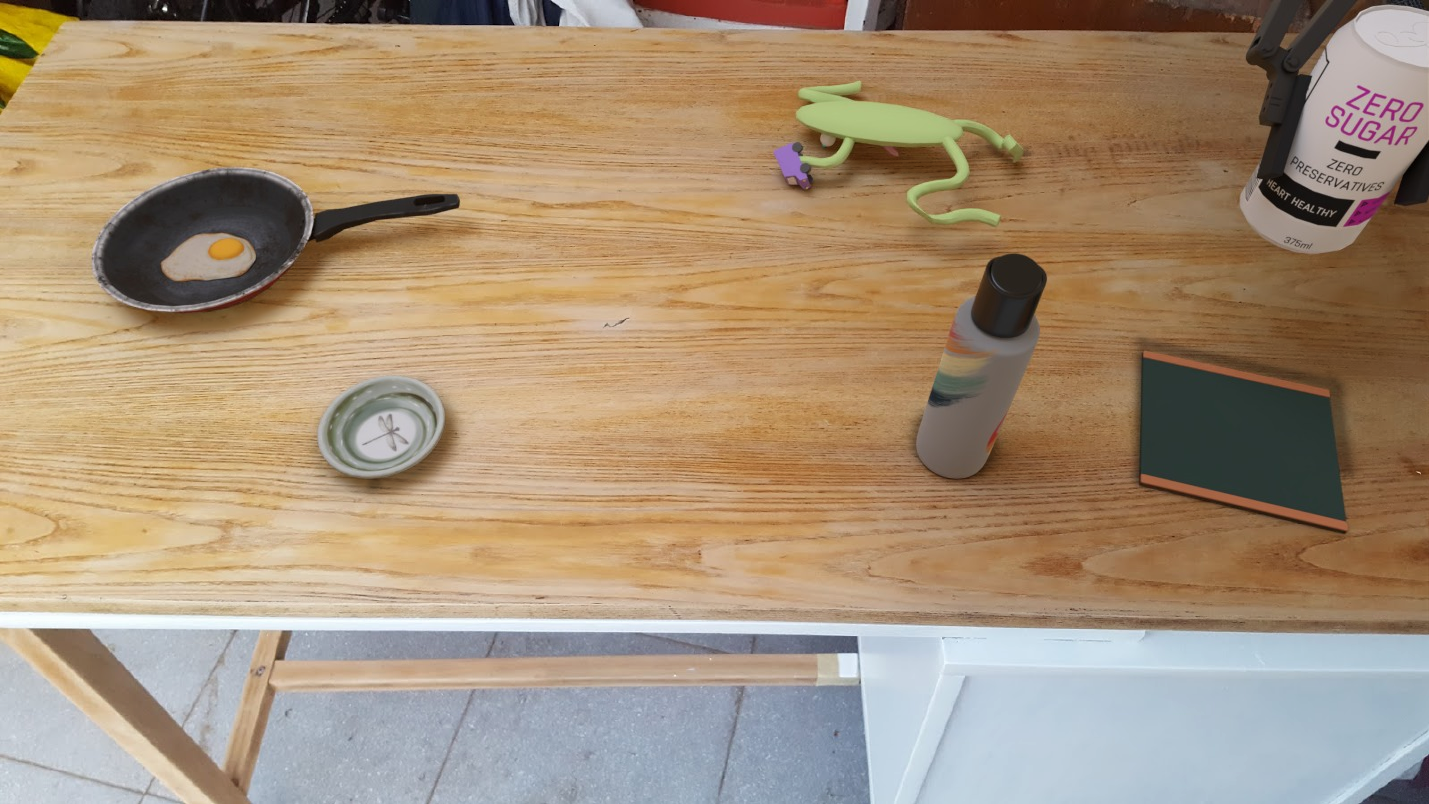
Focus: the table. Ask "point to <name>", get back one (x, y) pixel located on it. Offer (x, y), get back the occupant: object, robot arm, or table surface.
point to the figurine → (886, 142)
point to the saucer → (381, 427)
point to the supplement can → (1349, 134)
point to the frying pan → (223, 237)
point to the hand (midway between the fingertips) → (1338, 189)
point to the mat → (1240, 441)
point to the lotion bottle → (981, 367)
